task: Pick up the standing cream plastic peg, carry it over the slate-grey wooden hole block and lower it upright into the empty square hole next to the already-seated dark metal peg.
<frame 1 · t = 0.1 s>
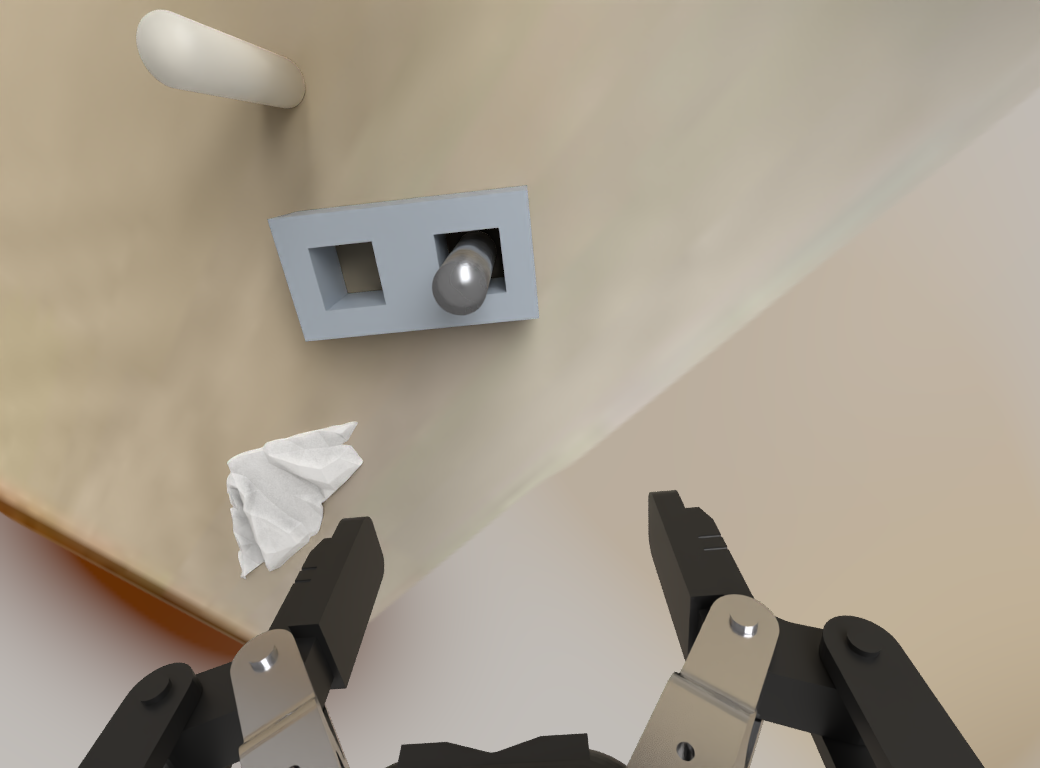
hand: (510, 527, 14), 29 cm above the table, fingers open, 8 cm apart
grey peg: (476, 251, 39), resting in hole block
cloth: (290, 493, 51), on the table
cream peg: (282, 82, 34), on the table
hole block: (422, 257, 39), on the table
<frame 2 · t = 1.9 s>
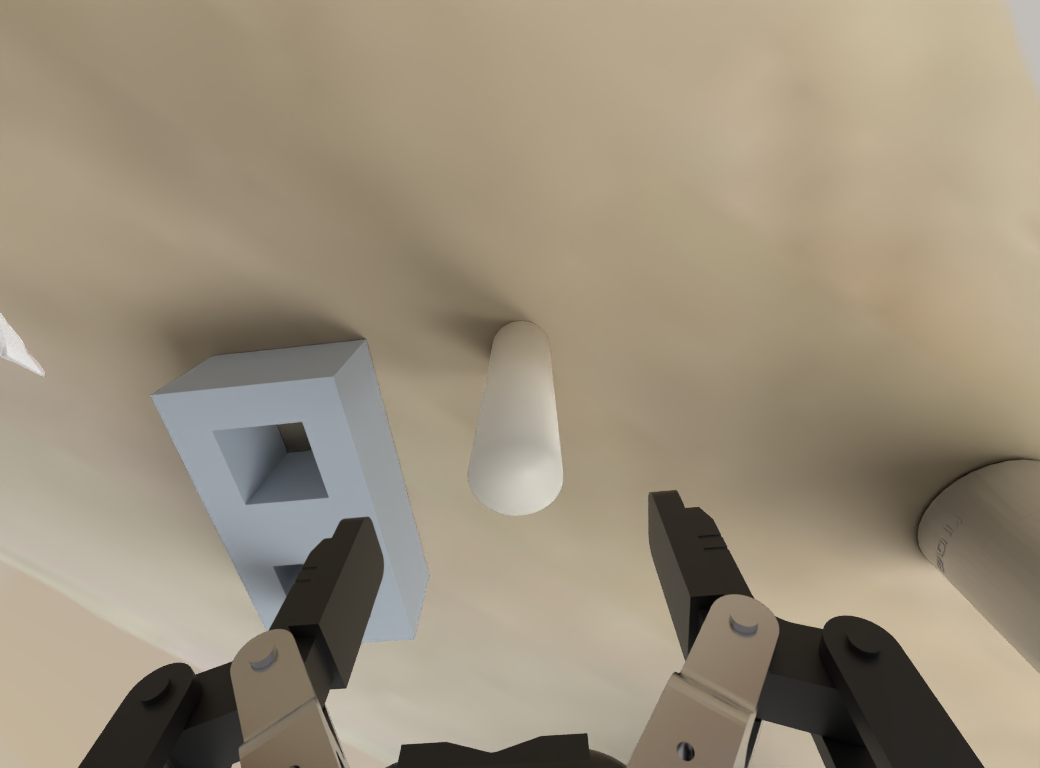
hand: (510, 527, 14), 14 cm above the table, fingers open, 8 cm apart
cream peg: (520, 348, 27), on the table
hole block: (333, 478, 31), on the table
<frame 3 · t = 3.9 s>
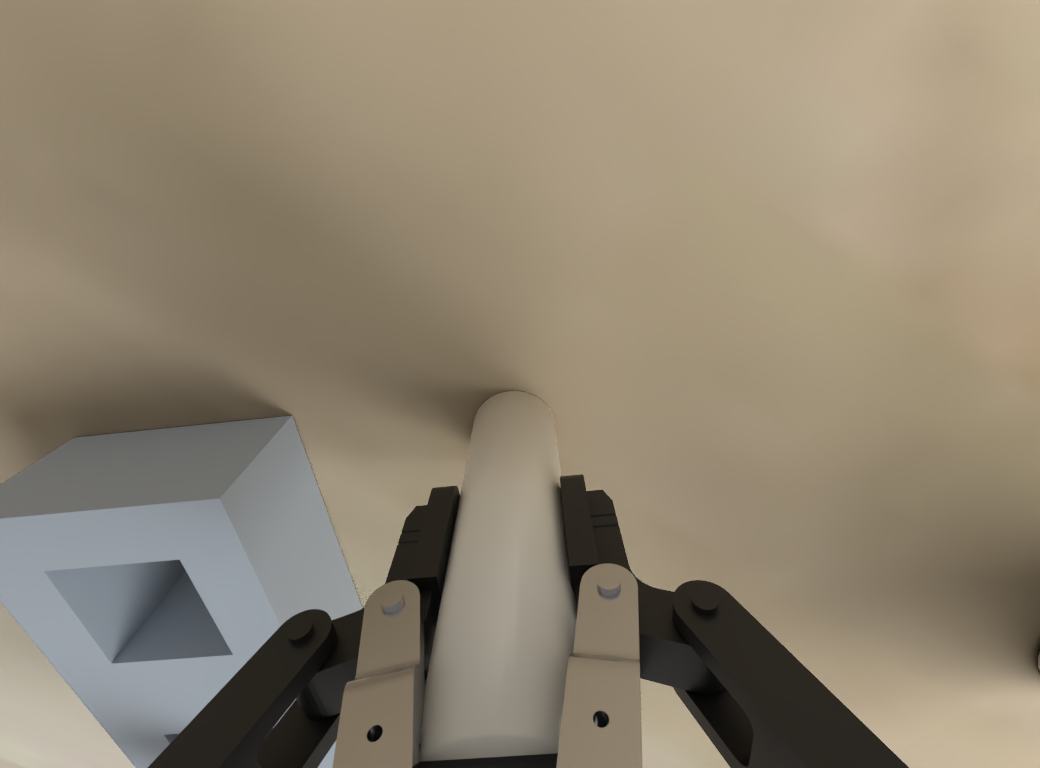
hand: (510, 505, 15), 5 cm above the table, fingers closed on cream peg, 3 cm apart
cream peg: (514, 427, 19), on the table, touching gripper
hole block: (260, 590, 23), on the table
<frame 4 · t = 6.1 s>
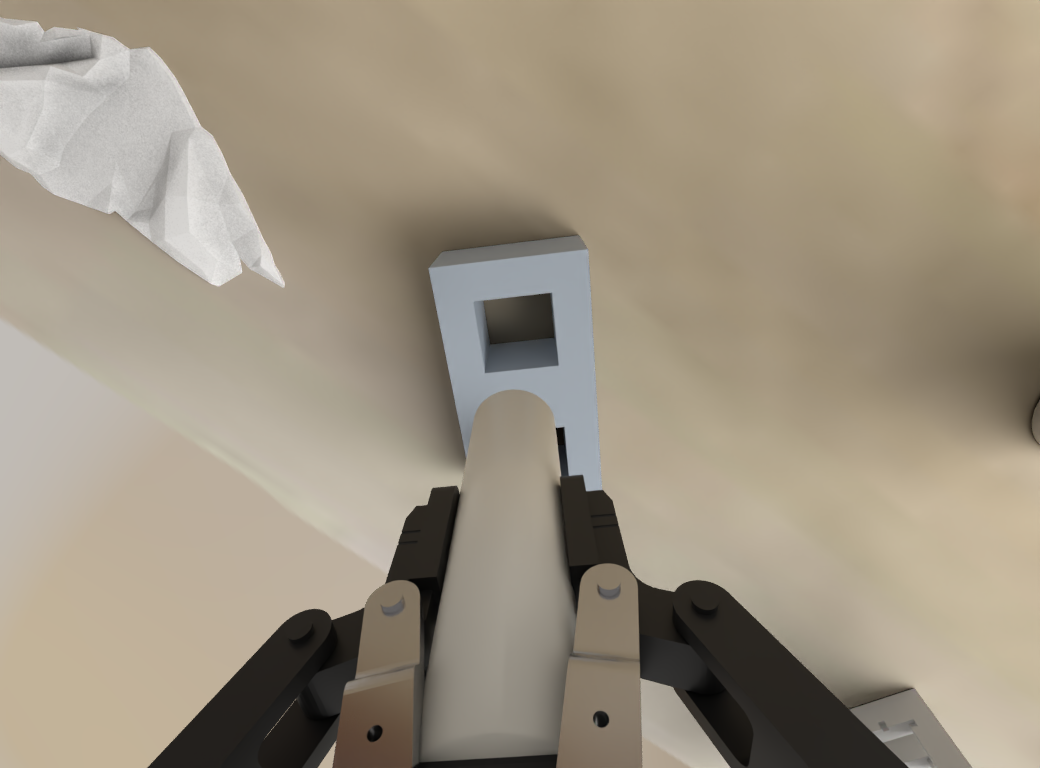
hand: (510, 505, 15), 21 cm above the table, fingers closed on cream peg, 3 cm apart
cloth: (114, 146, 30), on the table
cream peg: (514, 426, 19), point 16 cm above the table, touching gripper
hole block: (525, 369, 35), on the table
toy: (878, 725, 54), on the table
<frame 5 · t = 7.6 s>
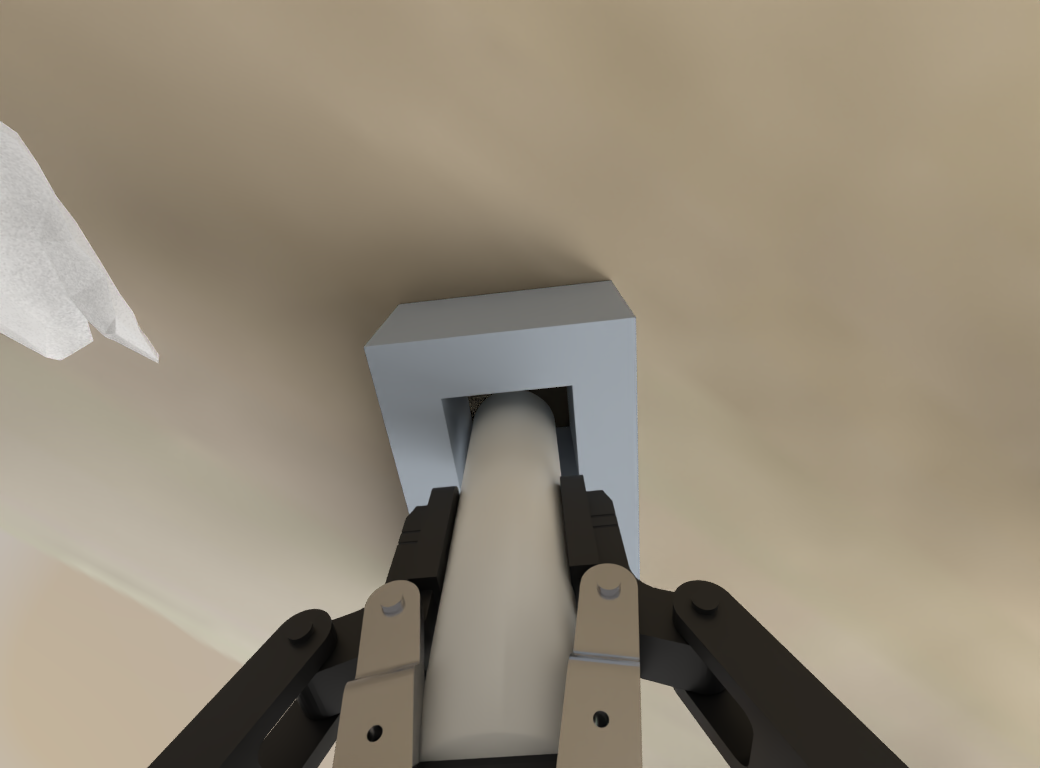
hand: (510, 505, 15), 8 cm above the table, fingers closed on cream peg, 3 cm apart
cream peg: (514, 425, 19), point 4 cm above the table, touching gripper
hole block: (527, 468, 24), on the table
when the fingers open (6 cm above the table, at t = 8.7 s): cream peg drops 1 cm, resting in hole block.
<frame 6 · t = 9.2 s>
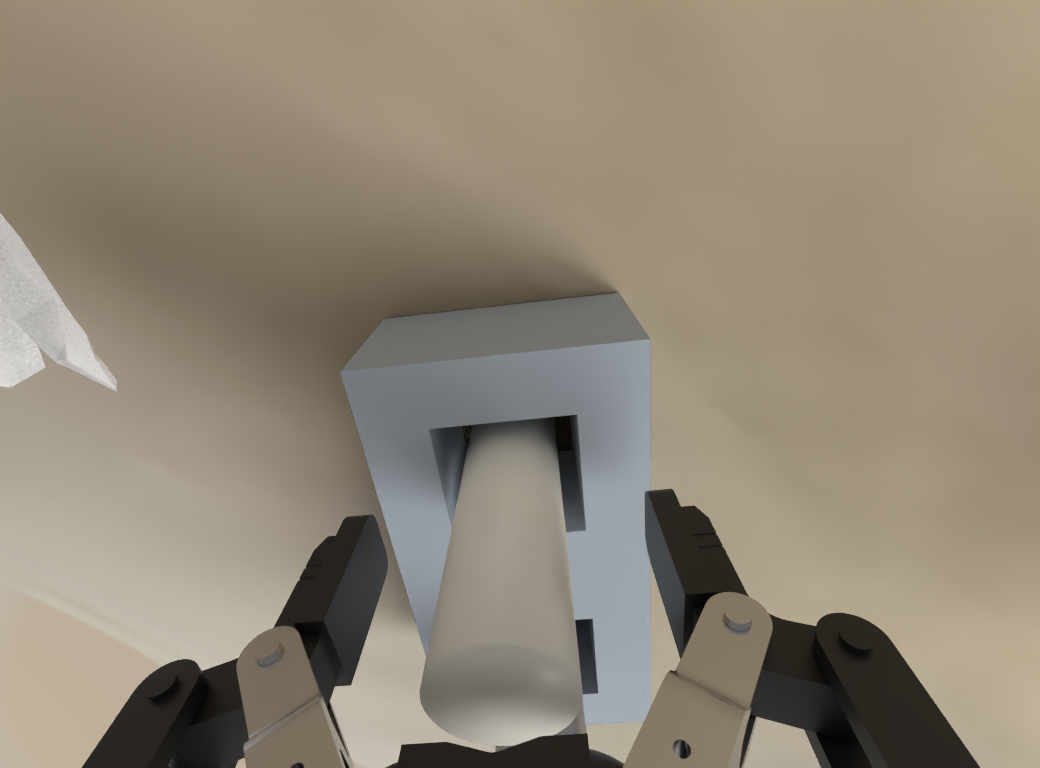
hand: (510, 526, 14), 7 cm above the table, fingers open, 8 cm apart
grey peg: (535, 566, 24), resting in hole block
cream peg: (514, 407, 20), resting in hole block
hole block: (526, 494, 22), on the table
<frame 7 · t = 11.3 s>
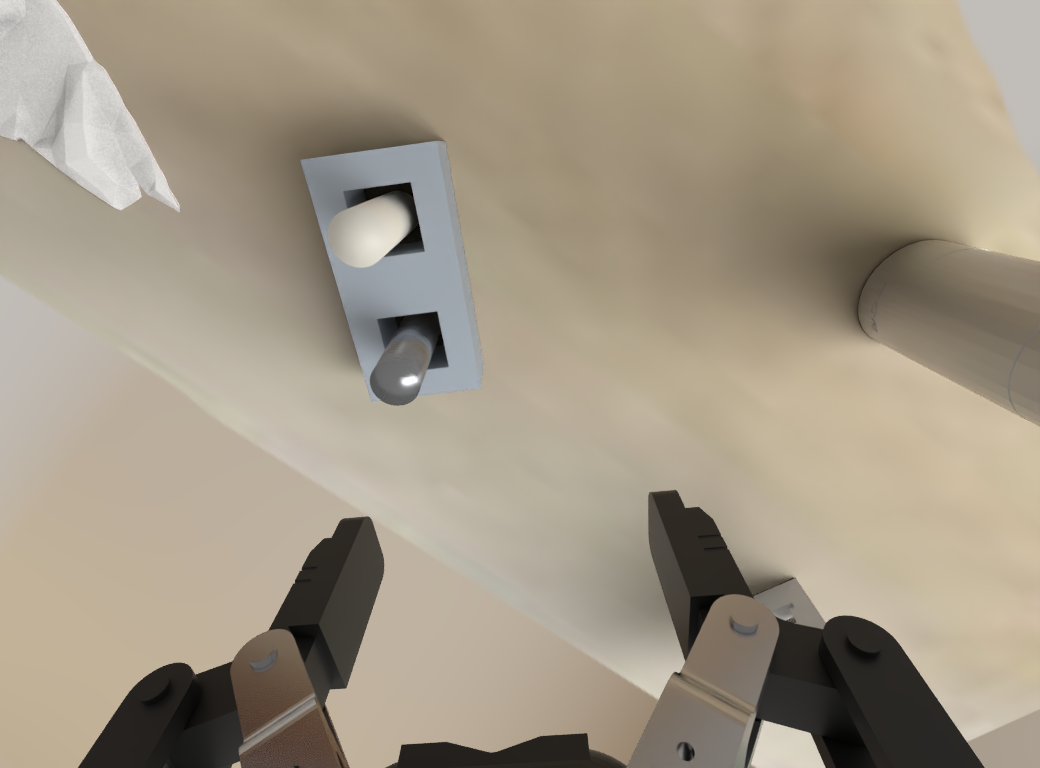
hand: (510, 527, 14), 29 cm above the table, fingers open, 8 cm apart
grey peg: (423, 322, 42), resting in hole block
cloth: (18, 79, 34), on the table
cream peg: (399, 212, 38), resting in hole block
hole block: (412, 270, 40), on the table
toy: (769, 617, 60), on the table
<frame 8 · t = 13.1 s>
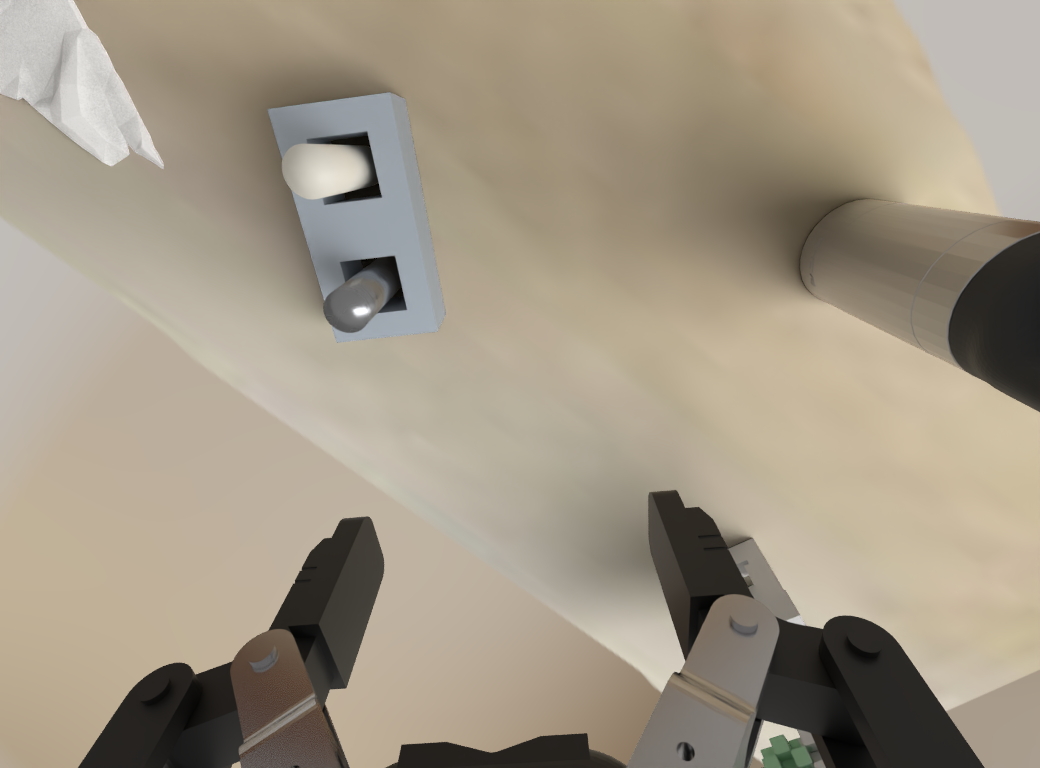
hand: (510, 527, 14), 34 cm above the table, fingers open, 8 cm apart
grey peg: (389, 272, 45), resting in hole block
cloth: (22, 45, 38), on the table
cream peg: (364, 166, 41), resting in hole block
hole block: (377, 222, 43), on the table
toy: (729, 578, 62), on the table
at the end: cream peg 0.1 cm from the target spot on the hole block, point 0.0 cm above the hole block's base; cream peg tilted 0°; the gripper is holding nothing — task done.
